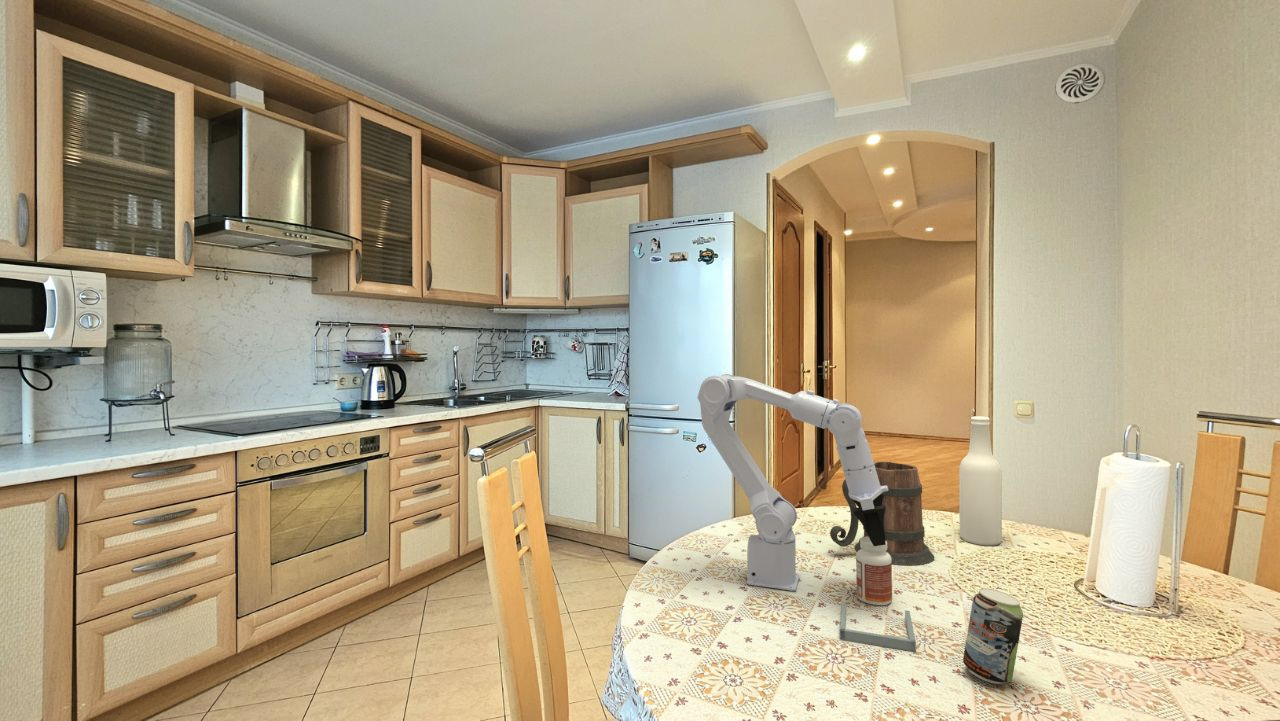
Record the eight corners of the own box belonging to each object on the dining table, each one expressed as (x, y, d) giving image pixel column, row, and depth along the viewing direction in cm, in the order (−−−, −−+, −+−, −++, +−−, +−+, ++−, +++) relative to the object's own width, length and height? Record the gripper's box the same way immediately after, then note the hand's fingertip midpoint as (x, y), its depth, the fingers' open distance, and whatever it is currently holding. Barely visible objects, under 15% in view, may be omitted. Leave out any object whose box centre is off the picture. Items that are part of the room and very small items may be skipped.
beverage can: (953, 666, 82) (953, 585, 82) (1000, 663, 83) (1000, 582, 82) (983, 692, 76) (983, 604, 75) (1034, 688, 76) (1034, 602, 76)
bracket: (840, 639, 90) (840, 630, 90) (841, 609, 100) (841, 601, 100) (915, 651, 86) (915, 642, 86) (909, 619, 96) (909, 610, 96)
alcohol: (1010, 546, 131) (1010, 419, 130) (972, 546, 131) (972, 419, 130) (987, 534, 139) (987, 414, 139) (952, 534, 140) (951, 415, 139)
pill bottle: (899, 601, 103) (898, 541, 103) (879, 609, 100) (879, 548, 100) (869, 589, 108) (868, 532, 108) (849, 597, 105) (849, 538, 105)
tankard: (904, 537, 138) (903, 457, 137) (952, 563, 121) (952, 471, 121) (815, 543, 134) (814, 461, 134) (852, 570, 118) (851, 476, 117)
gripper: (882, 470, 97) (904, 547, 96) (879, 456, 111) (898, 524, 109) (840, 477, 100) (862, 553, 98) (842, 463, 113) (861, 530, 112)
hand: (878, 538), depth 104 cm, fingers open, 7 cm apart
